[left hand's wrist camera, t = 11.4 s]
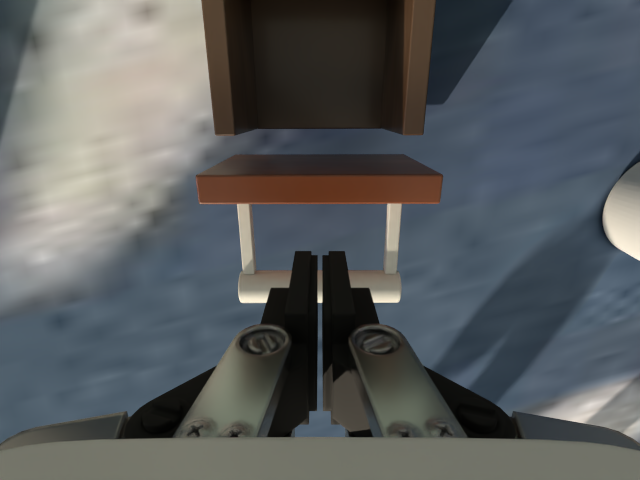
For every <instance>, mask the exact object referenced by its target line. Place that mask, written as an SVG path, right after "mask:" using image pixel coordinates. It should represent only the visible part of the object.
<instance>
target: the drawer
mask: <svg viewBox="0 0 640 480" xmlns="http://www.w3.org/2000/svg"><path fill="white" fill-rule="evenodd" d="M201 1H202V10H203V20H204V30H205V40H206V50H207V60H208V70H209V80H210V90H211V100H212V109H213V119H214V129H215V135H216V136H234V135H238V134H241V133H245V132H248V131H252V130H255V129H372V128H382V129H385V130H389V131H392V132H395V133H399V134H402V135H423V132H424V122H425V111H426V101H427V90H428V80H429V69H430V59H431V48H432V37H433V27H434V16H435V6H436V0H201ZM442 181H443V175H442V174H440V173H438V172H436V171H434V170H433V169H431V168H429V167H427V166H425V165H423V164H421V163H419V162H417V161H415V160H414V159H412V158H410V157H408V156H406V155H404V154H340V155H234V156H232V157H230V158H228V159H226V160H224V161H223V162H221V163H219V164H217V165H215V166H213V167H211V168H209V169H207V170H205V171H203V172H202V173H200V174H198V175H196V184H197V192H198V200H199V203H200V204H237V207H238V219H239V230H240V242H241V254H242V265H243V271H241V273H240V277H239V283H238V293H239V299H240V302H242V303H266V302H267V299H268V295H269V292H270V289H271V288H289V285H290V279H291V273H292V270H256V259H255V244H254V230H253V216H252V204H387V219H386V235H385V250H384V265H383V269H384V270H348V273H349V279H350V285H351V288H369V289H370V292H371V295H372V299H373V302H374V303H384V302H399V301H400V297H401V278H400V274H399V272H398V271H397V259H398V246H399V233H400V221H401V208H402V204H438V203H440V198H441V189H442ZM318 303H322V270H318Z"/></svg>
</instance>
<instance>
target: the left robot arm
mask: <svg viewBox="0 0 640 480" xmlns="http://www.w3.org/2000/svg"><path fill="white" fill-rule="evenodd" d="M317 346H318V264H317V255H311V251H295V256H294V262H293V268H292V273H291V279H290V285H289V288H271V289H270V292H269V295H268V299H267V302H266V306H265V310H264V313H263V317H262V320H261V324H258V325H253V326H250V327H248V328H245V329H244V330H242V331H241V332H239V333H238V334H237V335H236V337H235V338H234V339H233V341H232V343H231V344H230V346H229V347H228V349H227V351H226V352H225V354H224V355H223V357H222V359H221V360H220V362H219V363H218V365H217V366H215V367H213V368H212V369H210V370H208V371H206V372H204V373H202V374H200V375H198V376H197V377H195V378H193V379H191V380H189V381H187V382H185V383H183V384H181V385H180V386H178V387H176V388H174V389H172V390H170V391H168V392H166V393H165V394H163V395H161V396H159V397H157V398H155V399H153V400H151V401H150V402H148V403H147V404H145V405H144V406H142V407H140V408H139V409H138V410H137V411H136V412H135V413H134V414H133V415H132V416H131V417H128V413H127V411H125V412H119V413H114V414H108V415H102V416H97V417H91V418H85V419H80V420H74V421H68V422H63V423H57V424H51V425H46V426H40V427H35V428H31V429H28V430H25V431H21V432H19V433H17V434H15V435H14V436H12V437H10V438H8V439H6V440H5V441H3V442H2V443H1V444H0V480H640V444H639V443H638V442H637V441H635V440H634V439H632V438H630V437H628V436H626V435H625V434H623V433H621V432H619V431H615V430H612V429H609V428H605V427H600V426H594V425H589V424H583V423H577V422H572V421H566V420H560V419H555V418H549V417H543V416H538V415H532V414H526V413H521V412H515V411H513V413H512V417H509V416H508V415H507V414H506V413H505V412H504V411H503V410H502V409H501V408H500V407H498V406H496V405H495V404H493V403H492V402H490V401H489V400H487V399H485V398H483V397H481V396H479V395H477V394H475V393H474V392H472V391H470V390H468V389H466V388H464V387H462V386H460V385H459V384H457V383H455V382H453V381H451V380H449V379H447V378H445V377H443V376H442V375H440V374H438V373H436V372H434V371H432V370H430V369H428V368H427V367H425V366H423V365H422V363H421V362H420V360H419V359H418V357H417V355H416V354H415V352H414V351H413V349H412V347H411V346H410V344H409V343H408V341H407V339H406V338H405V337H404V335H403V334H402V333H401V332H399V331H398V330H396V329H395V328H392V327H390V326H387V325H382V324H379V320H378V317H377V313H376V310H375V306H374V302H373V299H372V295H371V292H370V289H369V288H351V285H350V279H349V273H348V268H347V262H346V256H345V251H329V255H323V264H322V347H323V411H331V424H341V425H342V426H343V427H345V437H295V427H297V426H298V425H299V424H309V411H317Z"/></svg>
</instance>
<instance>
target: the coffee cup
mask: <svg viewBox="0 0 640 480" xmlns="http://www.w3.org/2000/svg"><path fill="white" fill-rule="evenodd" d="M603 227H604V231H605V234H606V236H607V238H608V239H609V241H610V242H611V243H612V244H613V245H614V246H616V247H617V248H618V249H620V250H622V251H624V252H625V253H627V254H629V255H631V256H632V257H634V258H636V259H638V260H639V261H640V162H638V163H637V164H635V165H634V166H633V167H632V168H630V169H629V170H628V171H627V172H626V173H625V174H624V175H623V176H622V177H621V178H620V179H619V180H618V182H617V183H616V184H615V186H614V187H613V189H612V190H611V192H610V194H609V196H608V198H607V200H606V203H605V206H604V211H603Z"/></svg>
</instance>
